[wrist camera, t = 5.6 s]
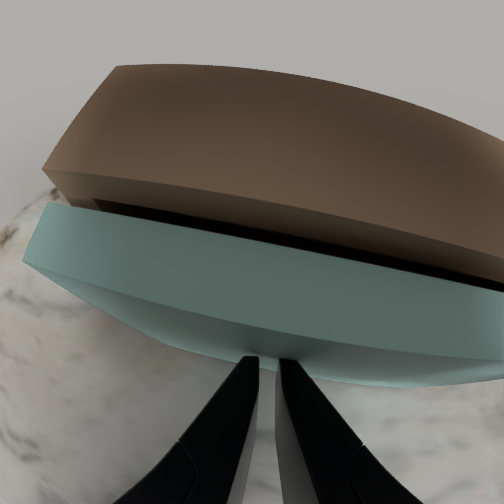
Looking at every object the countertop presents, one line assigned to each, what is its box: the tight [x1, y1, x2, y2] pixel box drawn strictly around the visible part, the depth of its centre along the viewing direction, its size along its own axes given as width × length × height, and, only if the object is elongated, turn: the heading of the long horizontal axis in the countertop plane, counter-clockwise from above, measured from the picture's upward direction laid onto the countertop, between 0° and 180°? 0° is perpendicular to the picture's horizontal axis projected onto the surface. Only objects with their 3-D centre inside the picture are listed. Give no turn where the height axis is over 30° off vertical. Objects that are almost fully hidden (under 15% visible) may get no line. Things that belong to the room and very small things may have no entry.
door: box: [22, 202, 504, 388], centre depth 9 cm, size 1×12×11 cm, turn 77°
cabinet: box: [42, 64, 504, 293], centre depth 10 cm, size 3×12×12 cm, turn 77°
